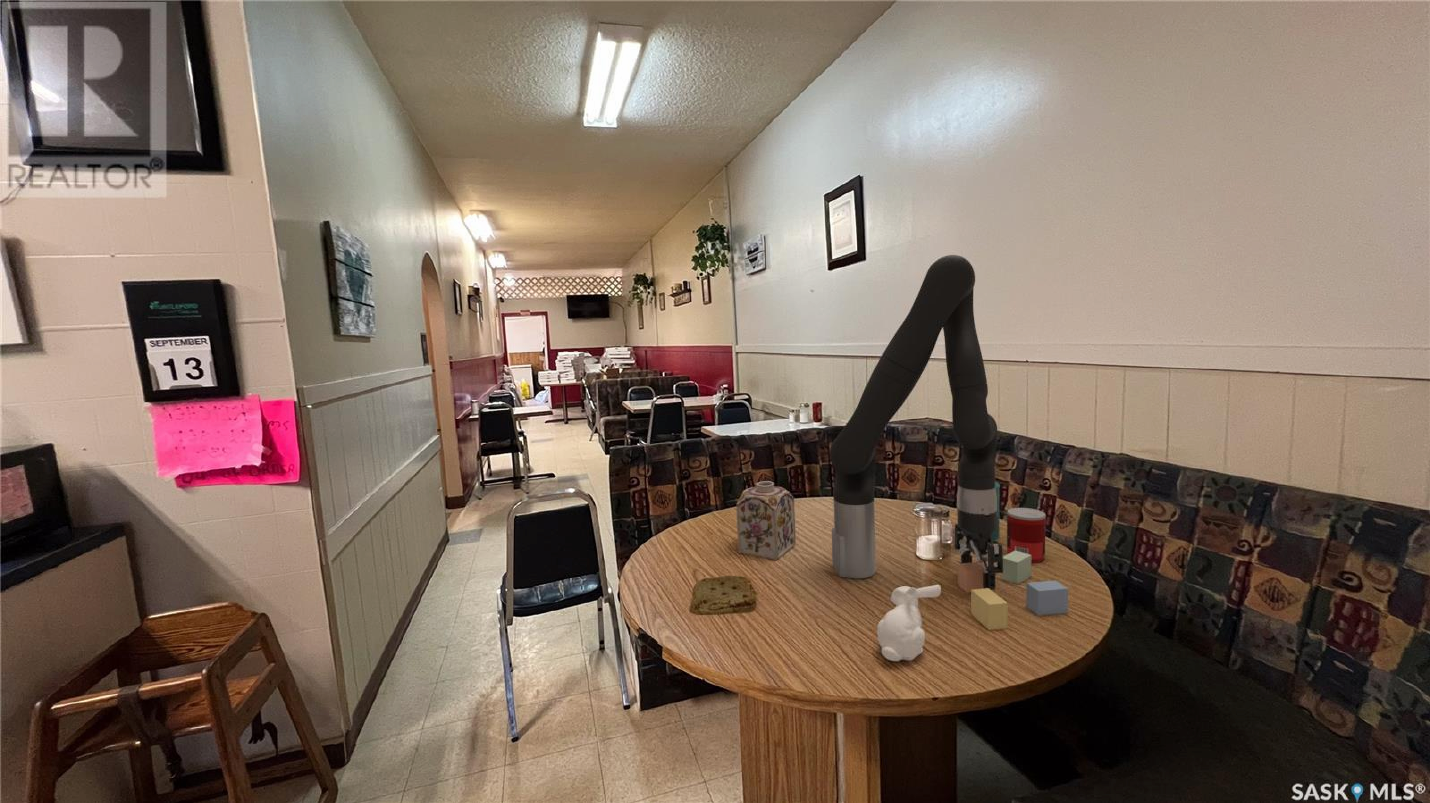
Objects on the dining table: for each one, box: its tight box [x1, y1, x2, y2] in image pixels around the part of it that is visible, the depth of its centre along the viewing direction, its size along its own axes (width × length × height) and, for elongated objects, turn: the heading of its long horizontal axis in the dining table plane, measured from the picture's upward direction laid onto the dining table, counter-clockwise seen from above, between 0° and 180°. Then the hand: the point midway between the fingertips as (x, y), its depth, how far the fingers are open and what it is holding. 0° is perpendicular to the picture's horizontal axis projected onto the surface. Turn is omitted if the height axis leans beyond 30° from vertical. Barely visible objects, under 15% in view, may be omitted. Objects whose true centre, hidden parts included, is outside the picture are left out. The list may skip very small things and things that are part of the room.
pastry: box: [689, 575, 758, 616], centre depth 116 cm, size 17×17×3 cm
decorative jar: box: [735, 480, 797, 561], centre depth 141 cm, size 12×12×18 cm
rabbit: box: [876, 584, 942, 662], centre depth 93 cm, size 12×9×12 cm
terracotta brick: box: [957, 561, 994, 594], centre depth 115 cm, size 6×4×5 cm, turn 94°
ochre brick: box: [970, 588, 1009, 631], centre depth 102 cm, size 6×4×5 cm, turn 4°
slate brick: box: [1025, 580, 1069, 617], centre depth 105 cm, size 6×4×5 cm, turn 94°
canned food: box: [1006, 507, 1047, 564], centre depth 129 cm, size 8×8×11 cm
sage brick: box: [1000, 551, 1032, 585], centre depth 119 cm, size 6×4×5 cm, turn 124°
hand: (977, 580), depth 115 cm, fingers open, 8 cm apart
